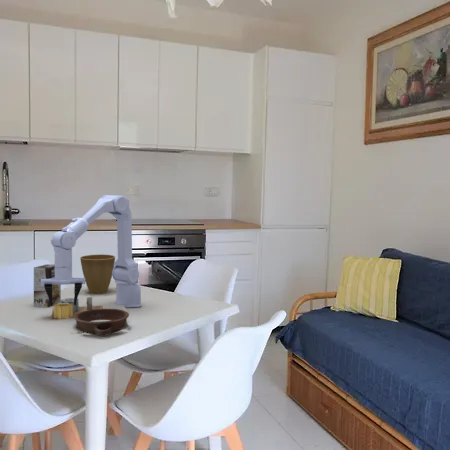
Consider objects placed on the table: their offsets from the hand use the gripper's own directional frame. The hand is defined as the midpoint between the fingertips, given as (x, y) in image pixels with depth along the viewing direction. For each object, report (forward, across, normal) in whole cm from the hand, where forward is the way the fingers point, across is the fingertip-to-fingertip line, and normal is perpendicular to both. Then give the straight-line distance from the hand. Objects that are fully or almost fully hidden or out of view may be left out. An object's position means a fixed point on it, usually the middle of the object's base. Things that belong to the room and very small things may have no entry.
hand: (63, 305), depth 168 cm
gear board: (+5, +5, +5) cm, 9 cm away
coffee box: (+5, -6, +20) cm, 21 cm away
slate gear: (+4, +2, +8) cm, 9 cm away
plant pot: (+5, +14, +43) cm, 45 cm away
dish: (+6, +12, -14) cm, 19 cm away
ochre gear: (+4, 0, 0) cm, 4 cm away
